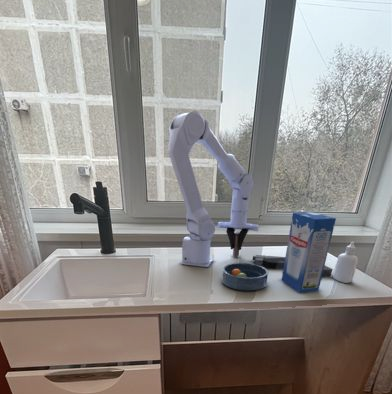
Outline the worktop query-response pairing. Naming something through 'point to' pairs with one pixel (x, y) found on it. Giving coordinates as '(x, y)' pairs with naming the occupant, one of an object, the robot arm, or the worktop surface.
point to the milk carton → (307, 250)
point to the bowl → (251, 282)
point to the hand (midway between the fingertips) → (236, 249)
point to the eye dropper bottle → (346, 265)
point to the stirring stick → (236, 243)
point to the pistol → (280, 263)
